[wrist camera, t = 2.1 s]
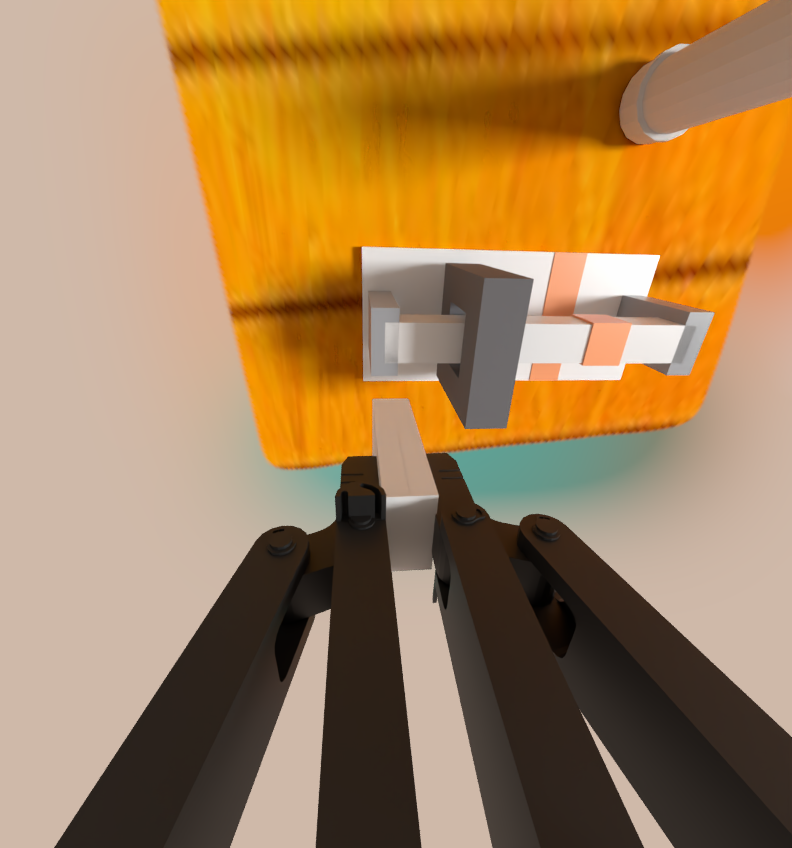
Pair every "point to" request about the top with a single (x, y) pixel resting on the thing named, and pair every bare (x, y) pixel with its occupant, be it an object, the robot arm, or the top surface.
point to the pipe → (712, 76)
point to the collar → (484, 341)
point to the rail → (546, 320)
